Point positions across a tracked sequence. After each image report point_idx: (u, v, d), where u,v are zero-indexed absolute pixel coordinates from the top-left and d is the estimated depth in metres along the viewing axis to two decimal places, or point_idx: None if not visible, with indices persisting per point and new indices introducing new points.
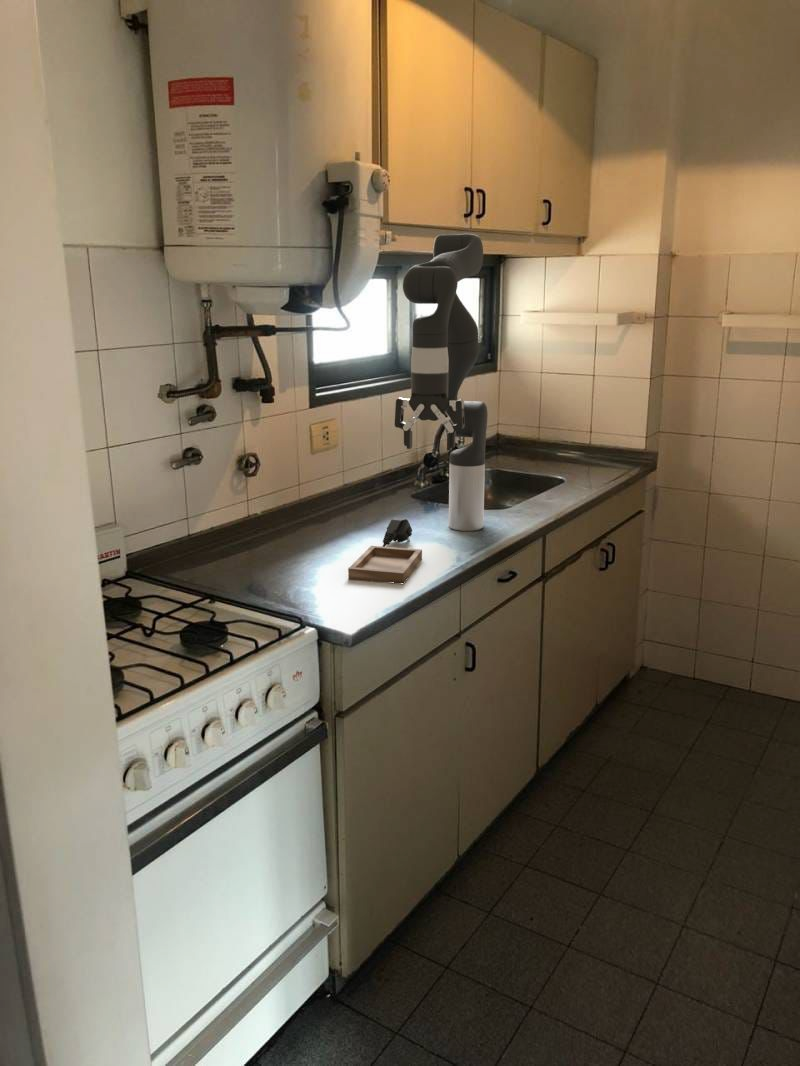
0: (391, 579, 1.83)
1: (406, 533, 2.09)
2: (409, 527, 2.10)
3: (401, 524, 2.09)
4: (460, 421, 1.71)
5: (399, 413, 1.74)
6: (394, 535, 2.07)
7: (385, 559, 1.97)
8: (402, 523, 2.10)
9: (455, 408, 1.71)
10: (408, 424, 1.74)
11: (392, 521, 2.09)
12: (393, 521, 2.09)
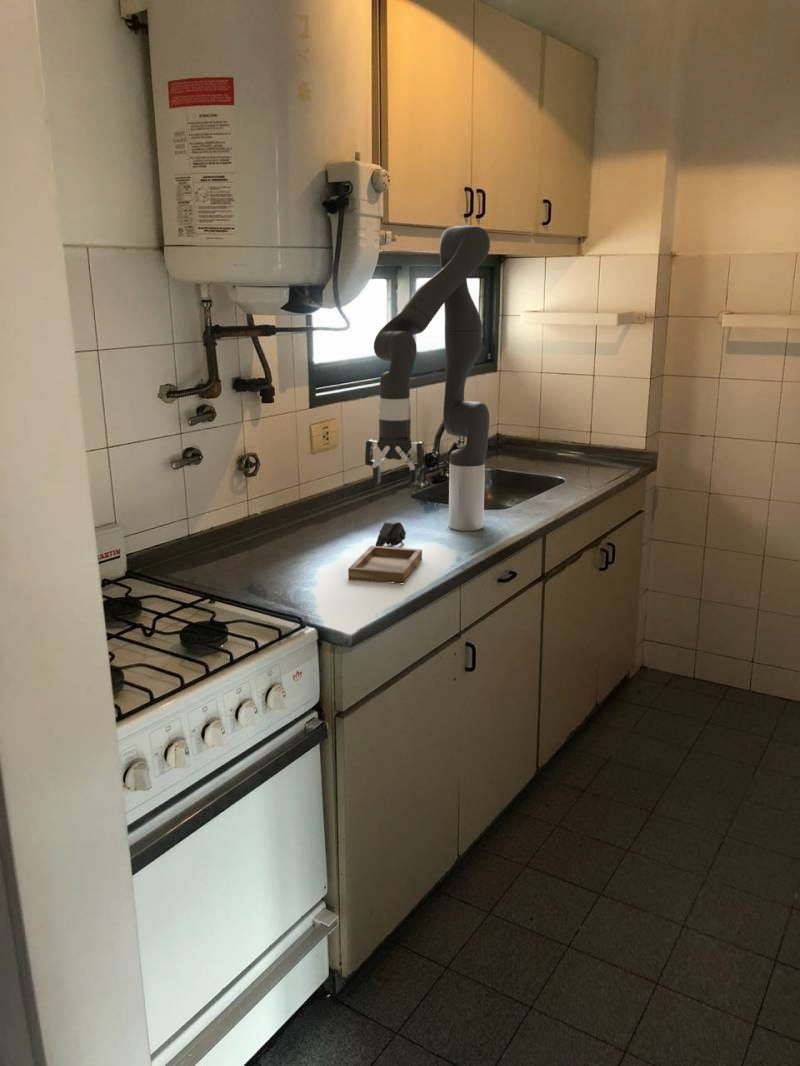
0: (391, 579, 1.83)
1: (399, 536, 2.07)
2: (402, 530, 2.07)
3: (394, 527, 2.07)
4: (420, 460, 2.01)
5: (369, 453, 2.04)
6: (387, 538, 2.04)
7: (385, 559, 1.97)
8: (395, 526, 2.07)
9: (416, 449, 2.01)
10: (376, 462, 2.04)
11: (385, 524, 2.06)
12: (386, 524, 2.06)
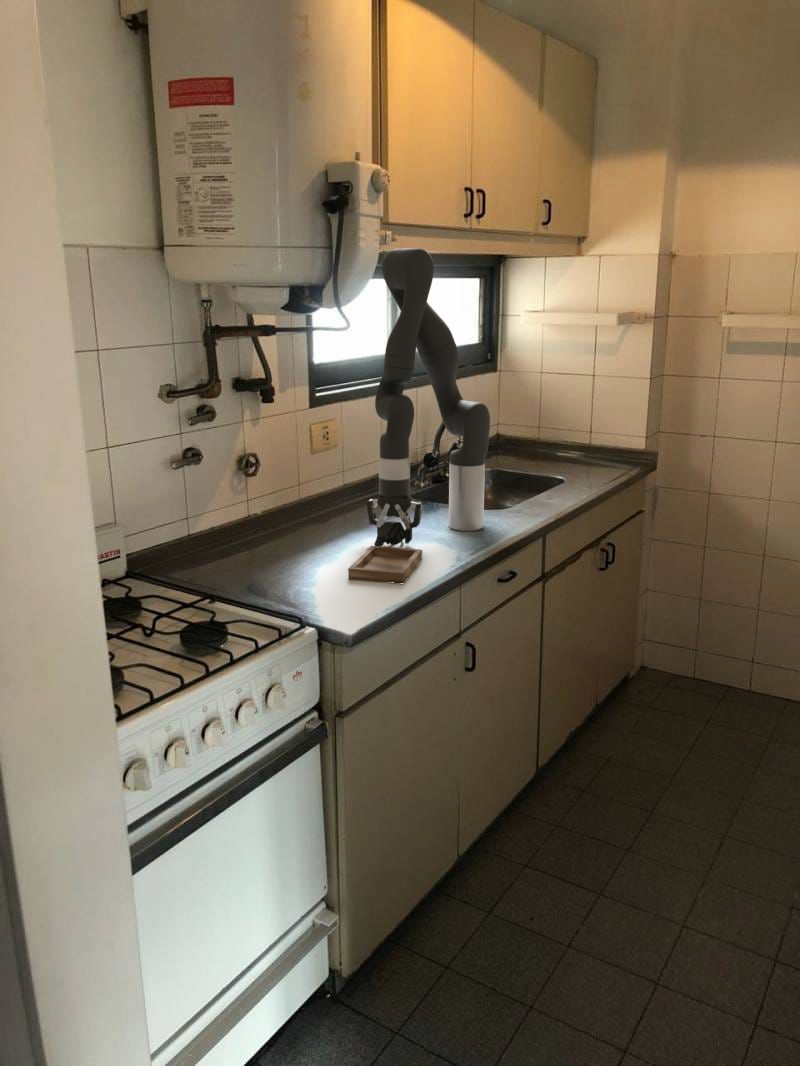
0: (391, 579, 1.83)
1: (399, 536, 2.06)
2: (402, 530, 2.07)
3: (394, 527, 2.06)
4: (416, 520, 2.06)
5: (371, 512, 2.08)
6: (386, 538, 2.04)
7: (385, 559, 1.97)
8: (395, 526, 2.07)
9: (414, 509, 2.05)
10: (380, 522, 2.08)
11: (385, 524, 2.06)
12: (386, 524, 2.06)
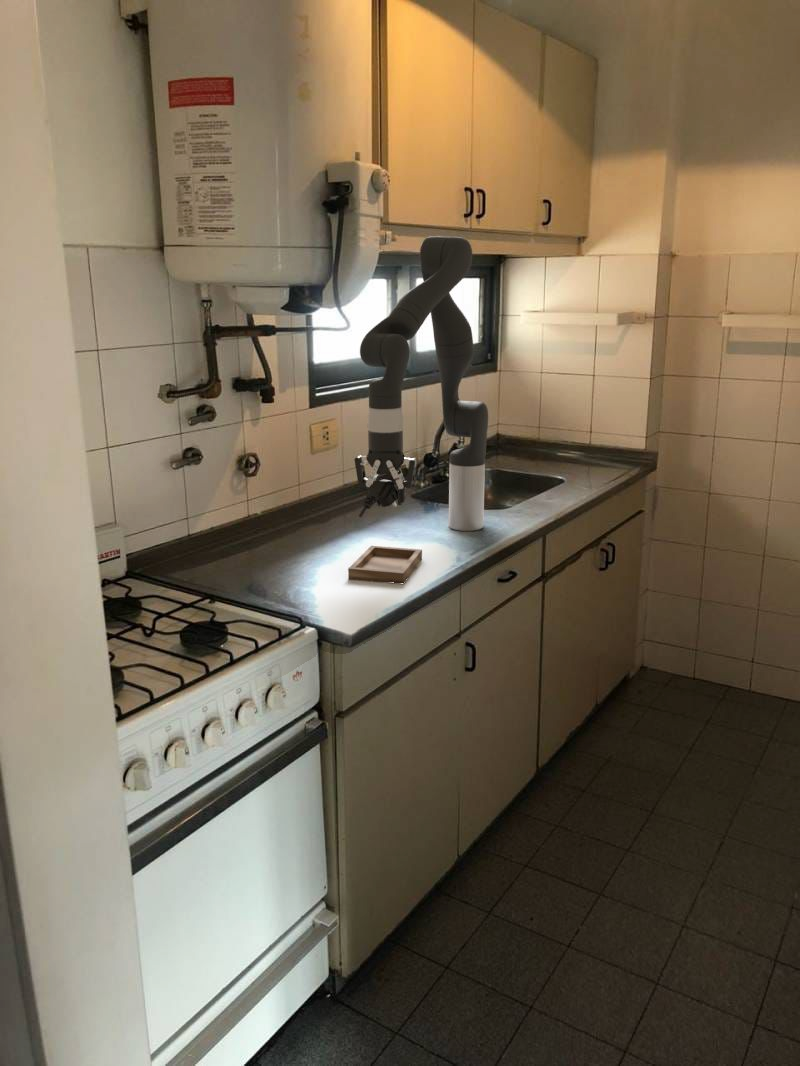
0: (391, 579, 1.83)
1: (391, 496, 1.84)
2: (395, 490, 1.85)
3: (385, 486, 1.84)
4: (410, 479, 1.84)
5: (360, 470, 1.86)
6: (376, 498, 1.82)
7: (385, 559, 1.97)
8: (386, 485, 1.85)
9: (408, 466, 1.83)
10: (370, 481, 1.86)
11: (375, 482, 1.84)
12: (376, 482, 1.84)
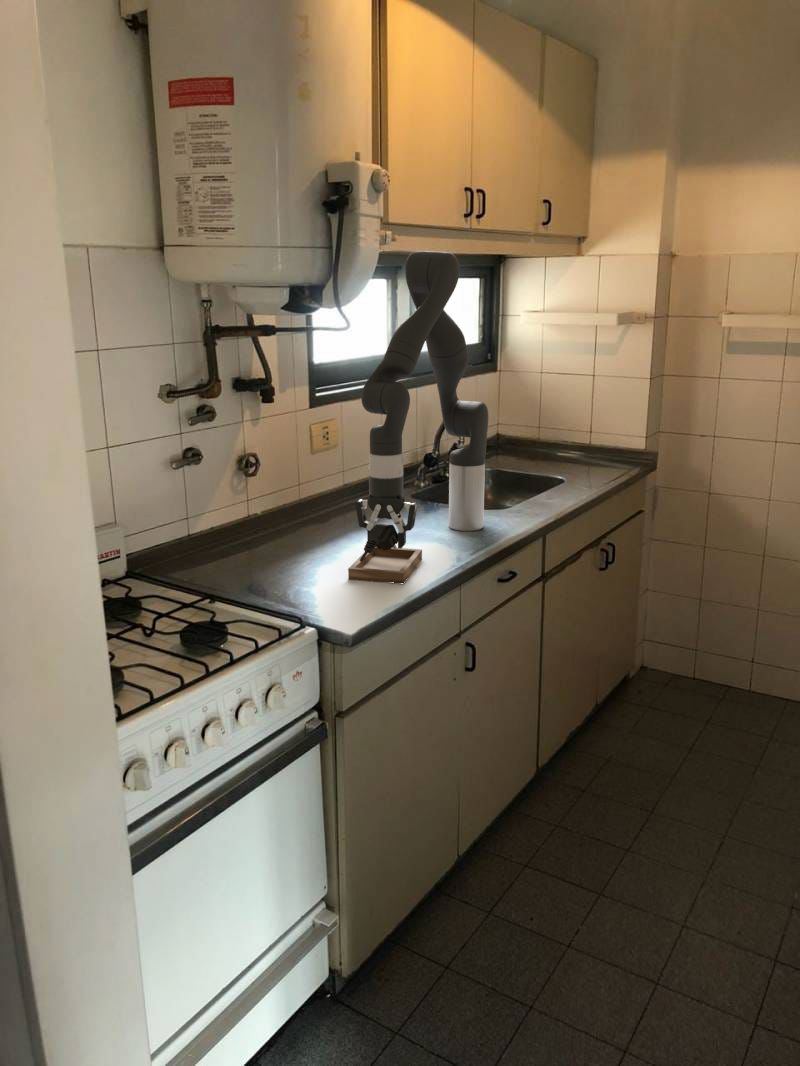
0: (391, 579, 1.83)
1: (391, 540, 1.87)
2: (395, 534, 1.88)
3: (386, 530, 1.87)
4: (410, 523, 1.87)
5: (361, 514, 1.89)
6: (377, 542, 1.85)
7: (385, 559, 1.97)
8: (387, 529, 1.88)
9: (408, 511, 1.86)
10: (371, 524, 1.89)
11: (376, 527, 1.87)
12: (377, 527, 1.87)
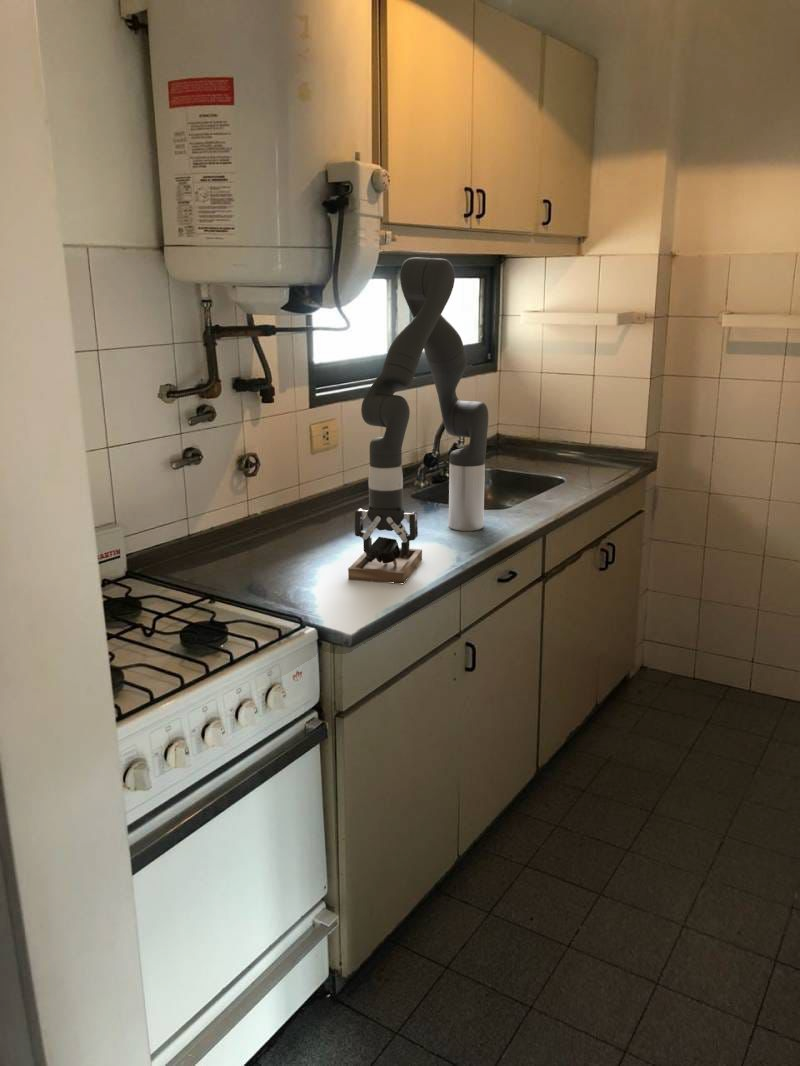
0: (391, 579, 1.83)
1: (393, 553, 1.88)
2: (397, 548, 1.90)
3: (388, 543, 1.89)
4: (413, 532, 1.87)
5: (358, 523, 1.90)
6: (379, 553, 1.86)
7: None
8: (390, 542, 1.89)
9: (409, 521, 1.87)
10: (367, 534, 1.90)
11: (379, 538, 1.89)
12: (380, 538, 1.89)
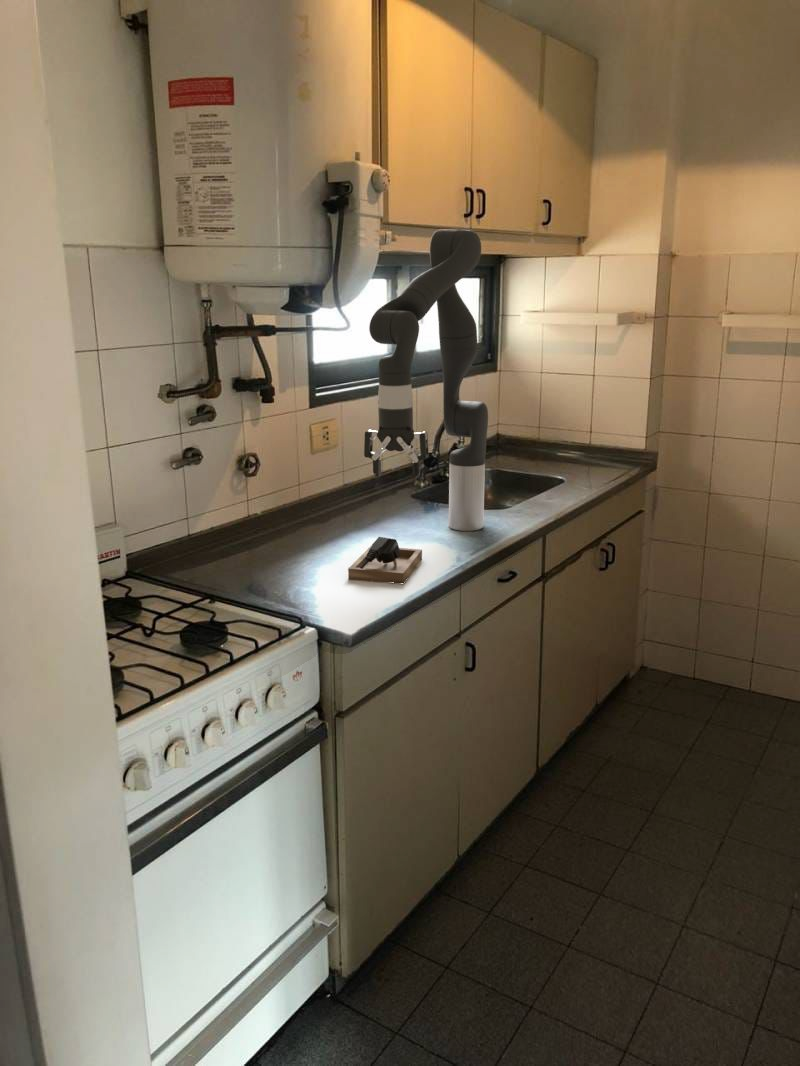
0: (391, 579, 1.83)
1: (393, 553, 1.88)
2: (397, 548, 1.89)
3: (388, 543, 1.89)
4: (424, 452, 1.85)
5: (368, 444, 1.88)
6: (379, 553, 1.86)
7: None
8: (390, 542, 1.89)
9: (419, 440, 1.85)
10: (376, 454, 1.88)
11: (379, 538, 1.89)
12: (380, 538, 1.89)
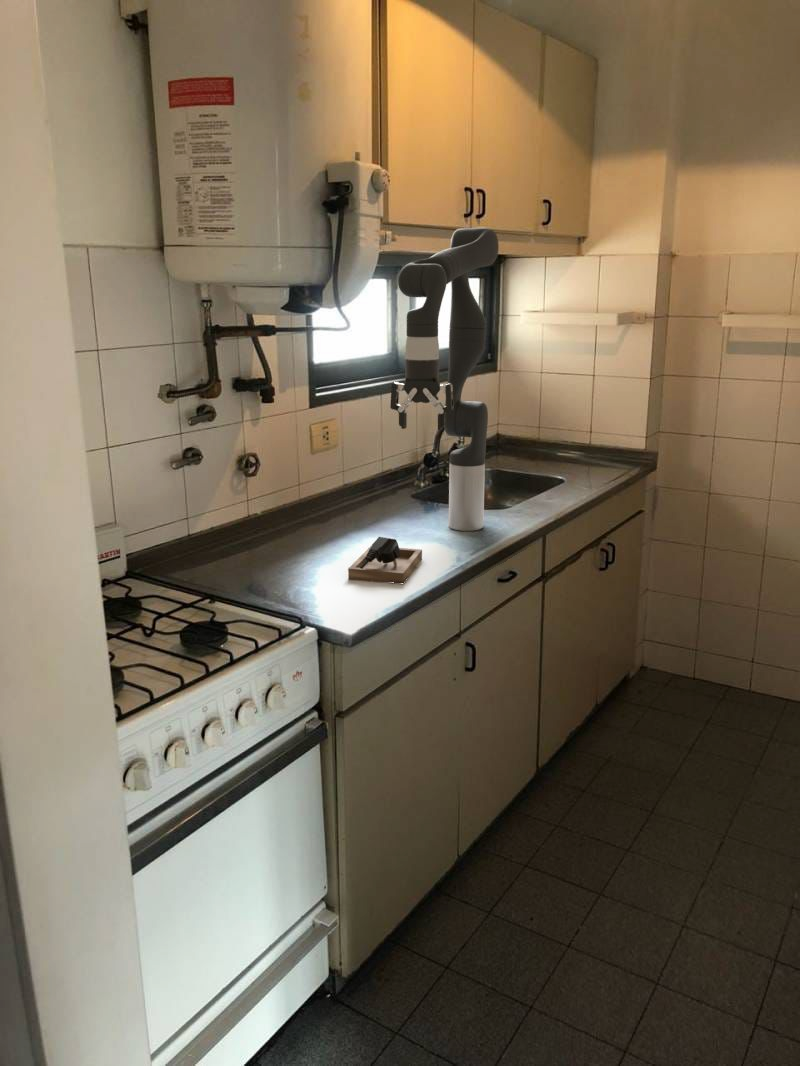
0: (391, 579, 1.83)
1: (393, 553, 1.88)
2: (397, 548, 1.89)
3: (388, 543, 1.89)
4: (449, 403, 1.90)
5: (394, 396, 1.93)
6: (379, 553, 1.86)
7: None
8: (390, 542, 1.89)
9: (445, 391, 1.90)
10: (403, 406, 1.93)
11: (379, 538, 1.89)
12: (380, 538, 1.89)
